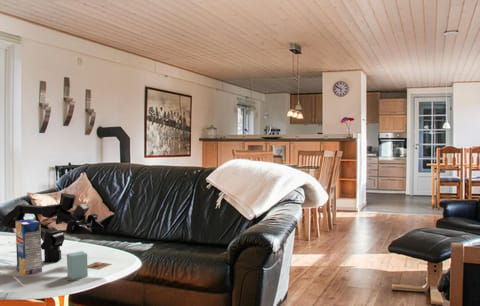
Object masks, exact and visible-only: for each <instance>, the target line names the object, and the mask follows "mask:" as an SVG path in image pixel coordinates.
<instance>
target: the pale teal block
mask: <svg viewBox="0 0 480 306" xmlns="http://www.w3.org/2000/svg"><path fill="white" fill-rule="evenodd" d="M87 265H88V253H86V252H85V251H82V250H80V251H75V252H68V253H67V254H66V271H67V277H68V278H69V279H70V280H78V279H81V278H86V277H88V275H89V274H88V272H89V268H88V267H87Z"/></svg>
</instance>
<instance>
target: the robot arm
mask: <svg viewBox="0 0 480 306" xmlns="http://www.w3.org/2000/svg"><path fill="white" fill-rule="evenodd" d="M76 197H77V195H75V194H72V193H64V192H63V193H61V195H60V199H59V203H55V204H50V205H36V204H26V203H25V204H24V203H22V204H17V205H16V206H14V208H13V209H12V210H10V211H9V212H8V213H6V215H4V216H3V217H2V220H1V222H2V226H3V227H4V228H7V229H15V230H16V222H15V221H20V220H25V216H26V214H28V215H38V216H39V215H40V216H41V217H43V218H46V219H53V218H55V219H54V220H55V225H61V224H66V228H65V233H66V234H68V235H70V236H72V235H84V234H85V235H86V234H88V235H89V234H92V230H93V229H94V230H104V228H105V227H104V225H102V223H100V221H99V220H98V217H99V214H96V213H91V214H89V215H86V213H87V212H88V211H89V208H90V206H89V205H88V204H86V203H81V204H78V205H77V206H76V208H75V210H74V211H71V210H73V209H74V207H75V202H76ZM86 217H87V218H86ZM41 241H42V242H41V251H43V252H44V260H42V263H58V262H59V261H61V260H62V249H61V247H63V243H64V241H65V235H64V232H62V230H61V229H57V228H56V227H51V228H48V229H47V228H44V227H41Z"/></svg>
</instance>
